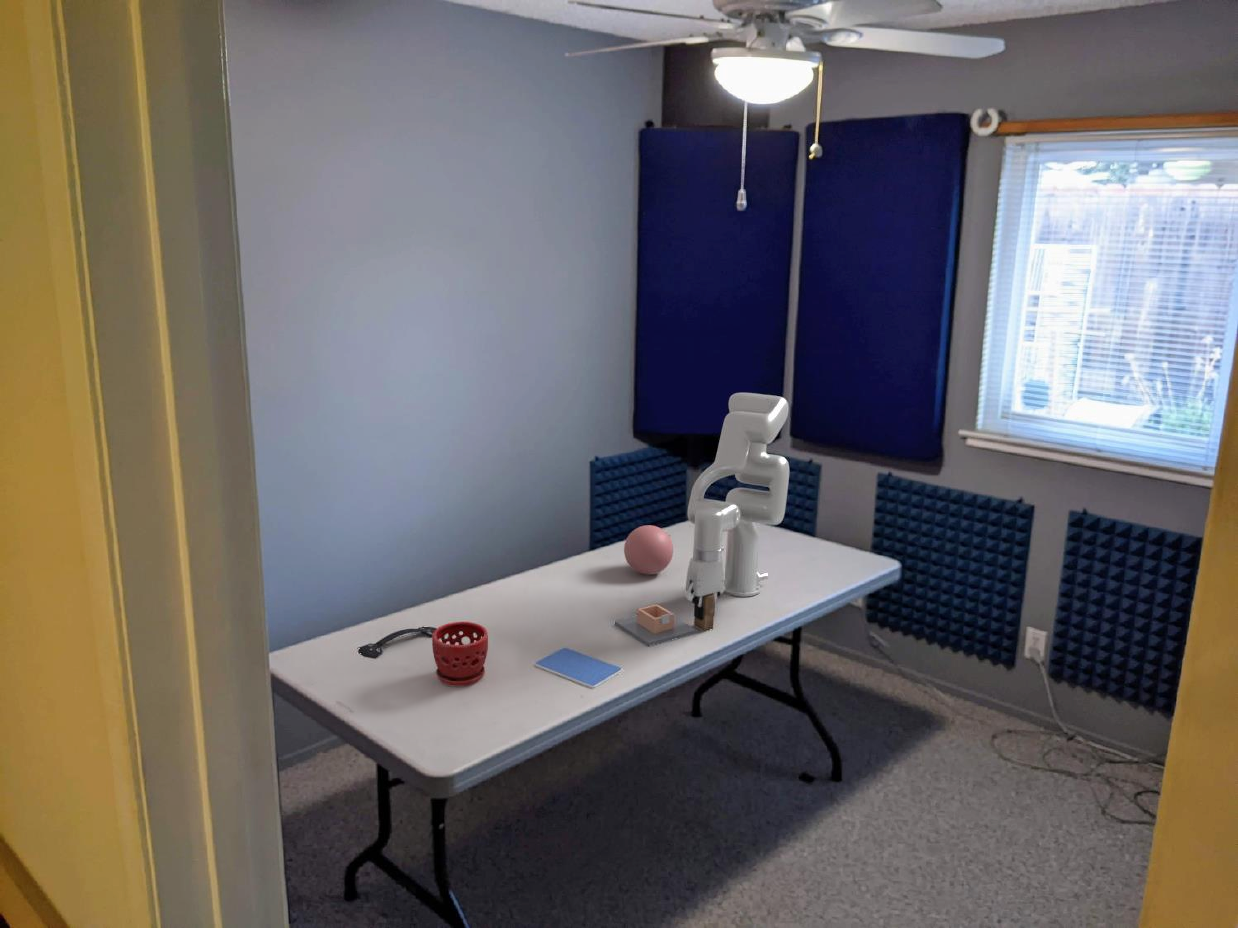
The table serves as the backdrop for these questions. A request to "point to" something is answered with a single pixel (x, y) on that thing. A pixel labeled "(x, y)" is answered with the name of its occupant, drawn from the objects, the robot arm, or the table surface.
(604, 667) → the tablet computer
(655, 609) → the square base with socket
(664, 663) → the table surface
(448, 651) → the plant pot
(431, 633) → the black curved handle
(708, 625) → the wooden rectangular block
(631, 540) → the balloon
